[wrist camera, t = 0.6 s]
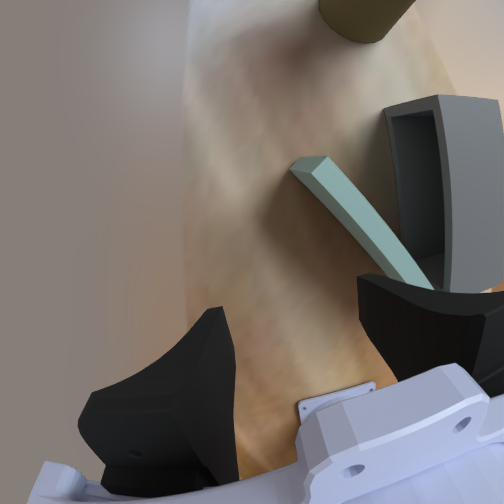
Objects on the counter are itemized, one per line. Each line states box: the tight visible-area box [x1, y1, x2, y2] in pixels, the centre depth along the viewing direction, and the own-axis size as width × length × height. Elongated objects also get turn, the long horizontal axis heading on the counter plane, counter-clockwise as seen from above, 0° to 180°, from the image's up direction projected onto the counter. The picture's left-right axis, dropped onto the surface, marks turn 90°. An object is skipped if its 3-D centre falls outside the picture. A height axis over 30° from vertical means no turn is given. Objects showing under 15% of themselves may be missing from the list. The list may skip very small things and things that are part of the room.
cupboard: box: [384, 95, 504, 293], centre depth 18 cm, size 13×6×7 cm, turn 11°
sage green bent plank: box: [289, 156, 434, 290], centre depth 18 cm, size 12×1×6 cm, turn 46°
